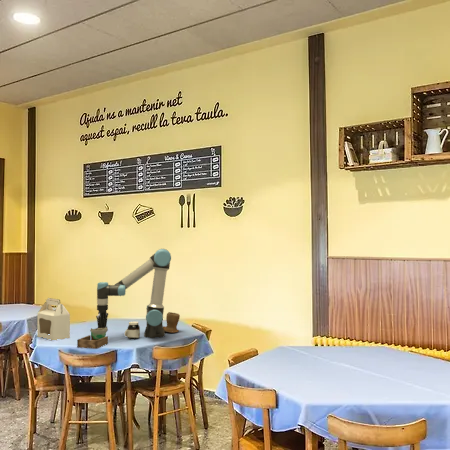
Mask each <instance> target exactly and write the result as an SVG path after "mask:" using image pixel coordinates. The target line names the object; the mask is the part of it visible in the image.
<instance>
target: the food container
mask: <svg viewBox="0 0 450 450" xmlns="http://www.w3.org/2000/svg"><path fill="white" fill-rule="evenodd" d="M89 330H90V335H91V340H95V341H96V340H99V339H101V338H104V337H106V336H107V332H108V331H109V329H108V326H107V325H106V327H104V328H98V327H95V328H90V329H89Z"/></svg>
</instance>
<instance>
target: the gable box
mask: <svg viewBox="0 0 450 450" xmlns="http://www.w3.org/2000/svg"><path fill="white" fill-rule="evenodd" d="M53 306H56V309H55V310H54V308H53ZM36 317H37V321H36V322H37V325H36V326H37V337H38V338H41V337H43V338H42V339H44V338H47V339H46V340H48V339H51V340H50V341H52V340H56V341H58V340H57V339H61V340H65V338H67V339H70V338H71V337H70V336H71V314H70V312H69V310H67V308H66V307H65V305H64V304H63V303H61V300H60V299H58V298H53V297H47V299H45V302H44V303H43V304H42V306H41V307H40V309H39V310H38V312H37V316H36ZM48 334H50V335H48Z"/></svg>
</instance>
